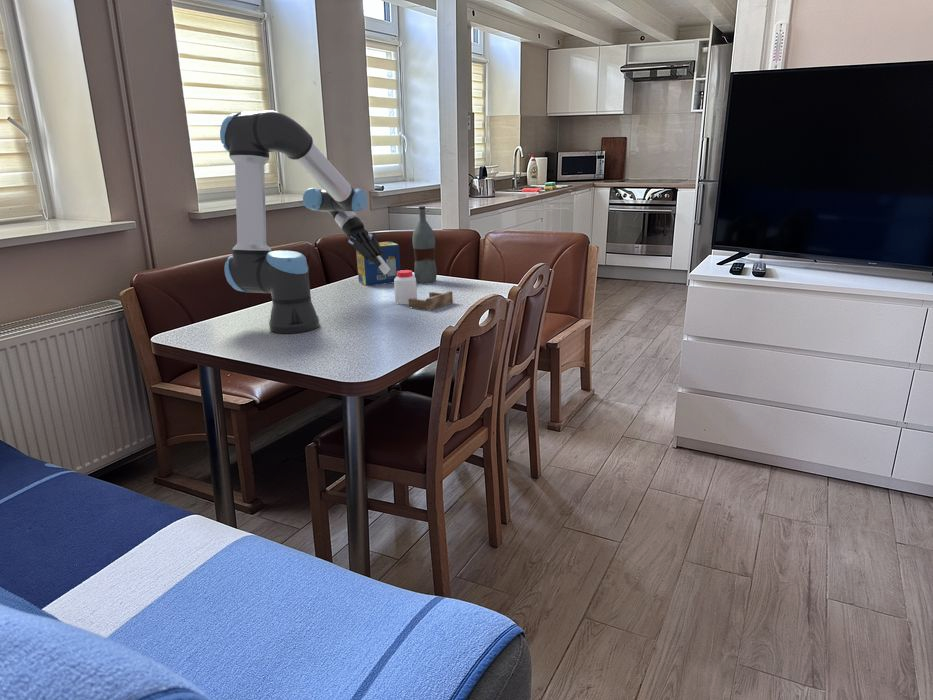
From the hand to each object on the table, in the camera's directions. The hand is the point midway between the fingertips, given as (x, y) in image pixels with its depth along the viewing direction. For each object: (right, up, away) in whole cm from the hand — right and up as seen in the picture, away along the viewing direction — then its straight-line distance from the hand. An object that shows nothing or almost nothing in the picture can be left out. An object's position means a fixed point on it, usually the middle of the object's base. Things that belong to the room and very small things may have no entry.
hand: (387, 271), depth 237 cm
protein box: (-7, 0, +34) cm, 35 cm away
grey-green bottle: (+12, -1, +31) cm, 33 cm away
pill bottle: (+7, -11, -3) cm, 14 cm away
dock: (+15, -13, -9) cm, 22 cm away
